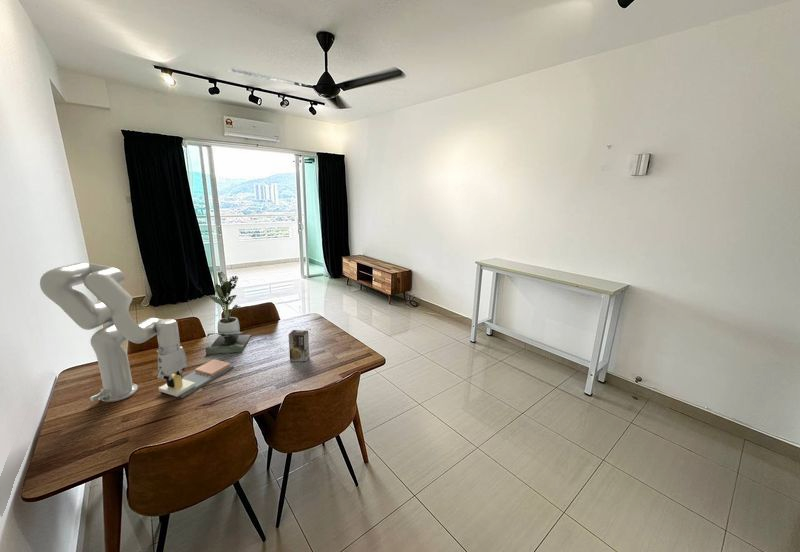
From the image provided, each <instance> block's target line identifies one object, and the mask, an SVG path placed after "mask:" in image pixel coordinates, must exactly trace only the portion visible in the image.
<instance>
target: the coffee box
mask: <svg viewBox="0 0 800 552" xmlns="http://www.w3.org/2000/svg"><path fill="white" fill-rule="evenodd" d="M287 335H288V349H289V350H288V351H289V352H288V353H289V361H290V360H293V361H292V362H297V361H306V360H307V361H308V359H309V358H310V344H309V343H310V339H309V330H297V329H292V330H291V331H290V332H289V333H288V334H287ZM308 357H309V358H308ZM307 361H306V362H307Z"/></svg>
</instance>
